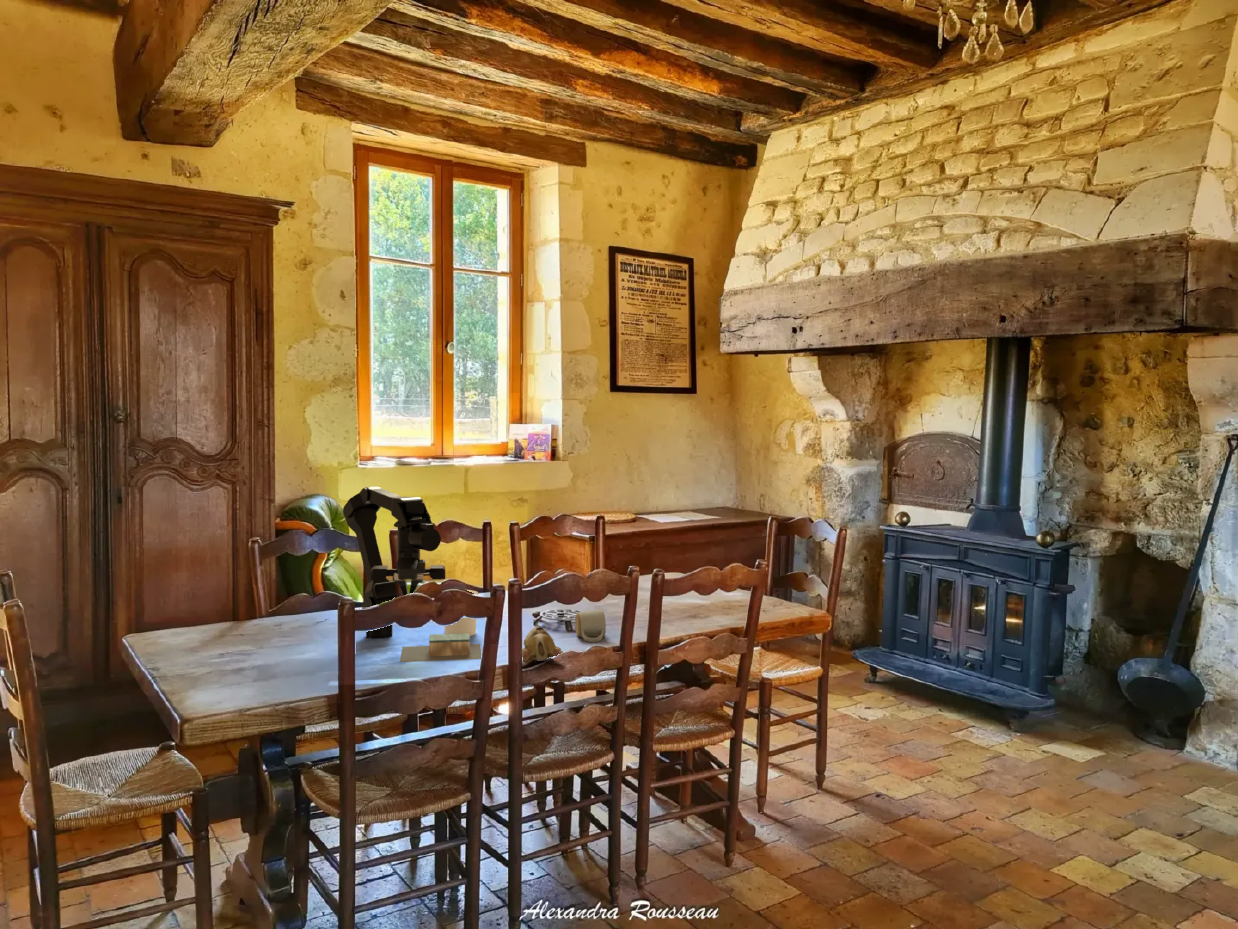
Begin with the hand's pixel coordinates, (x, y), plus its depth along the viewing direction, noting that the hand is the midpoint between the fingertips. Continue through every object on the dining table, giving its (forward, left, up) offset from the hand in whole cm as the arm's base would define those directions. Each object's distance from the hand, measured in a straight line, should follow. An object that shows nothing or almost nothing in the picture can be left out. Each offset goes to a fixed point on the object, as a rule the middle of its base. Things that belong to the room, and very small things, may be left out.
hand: (408, 605), depth 233 cm
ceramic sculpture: (+33, -14, -12) cm, 38 cm away
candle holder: (+14, +12, -12) cm, 22 cm away
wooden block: (+6, -7, -9) cm, 13 cm away
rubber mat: (+9, -7, -12) cm, 16 cm away
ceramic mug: (+50, +6, -12) cm, 51 cm away
